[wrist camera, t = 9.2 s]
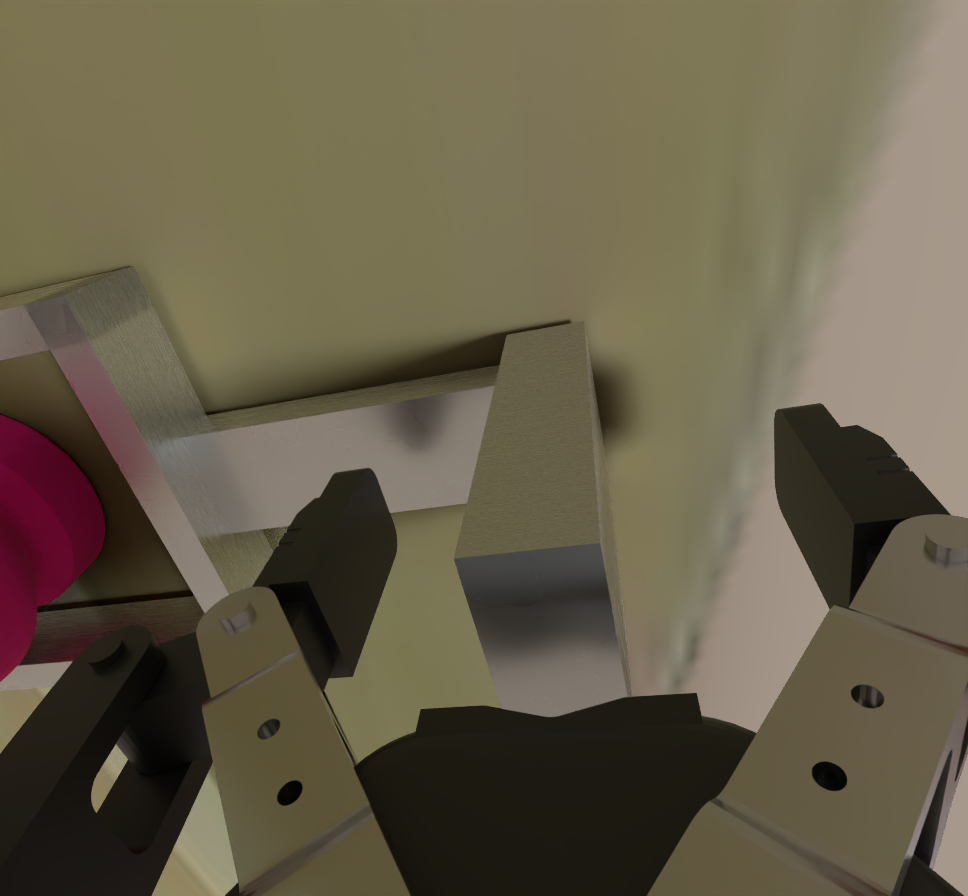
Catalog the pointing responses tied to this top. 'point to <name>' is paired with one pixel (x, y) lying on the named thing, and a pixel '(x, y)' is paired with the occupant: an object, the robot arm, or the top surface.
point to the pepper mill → (39, 532)
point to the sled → (342, 447)
